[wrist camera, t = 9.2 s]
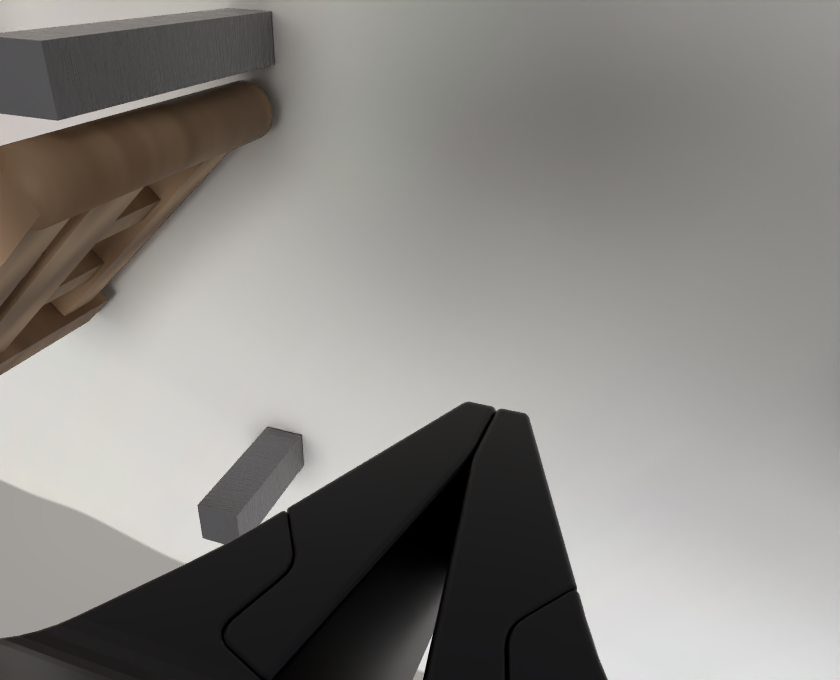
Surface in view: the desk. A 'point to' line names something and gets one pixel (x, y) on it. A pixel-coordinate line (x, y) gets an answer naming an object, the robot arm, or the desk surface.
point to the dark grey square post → (129, 81)
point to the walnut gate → (102, 203)
